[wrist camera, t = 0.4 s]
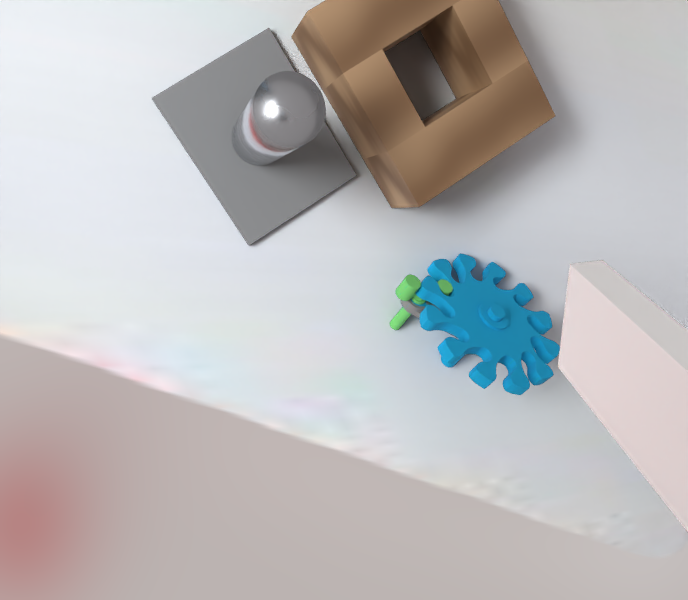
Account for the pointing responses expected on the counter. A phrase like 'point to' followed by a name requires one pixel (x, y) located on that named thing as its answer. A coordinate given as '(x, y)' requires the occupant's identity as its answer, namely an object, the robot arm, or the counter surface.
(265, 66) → the mat
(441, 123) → the hole block
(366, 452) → the counter surface
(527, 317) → the gear
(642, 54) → the counter surface
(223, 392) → the counter surface
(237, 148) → the peg
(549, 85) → the counter surface
